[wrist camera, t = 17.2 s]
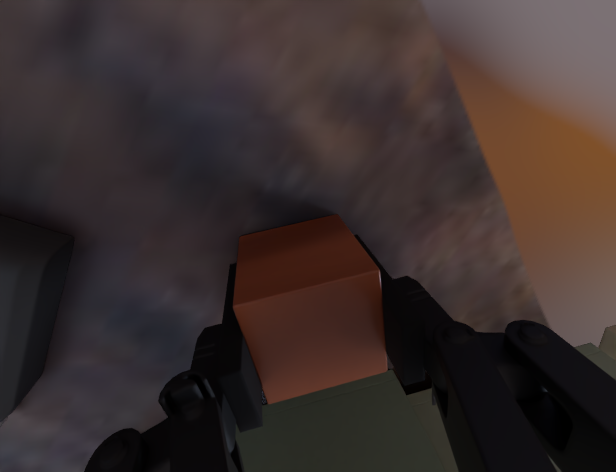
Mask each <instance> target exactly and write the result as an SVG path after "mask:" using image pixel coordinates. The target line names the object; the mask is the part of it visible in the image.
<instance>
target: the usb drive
mask: <svg viewBox="0 0 616 472" xmlns="http://www.w3.org/2000/svg"><path fill="white" fill-rule="evenodd" d="M73 244H74V237H71V236H68V235H65V234H61V233H58V232H55V231H51V230H48V229H45V228H42V227H38V226H35V225H32V224H28V223H25V222H22V221H19V220H15V219H12V218H9V217H5V216H2V215H0V427H1V426H2V424H3V423H4V422H5V421H6V419H7V418H8V416H9V415H10V414H11V413H12V412H13V411H14V410H15V408H16V407H17V406H18V405H19V403H20V402H21V401H22V400H23V398H24V397H25V396H26V394H27V393H28V392H29V391H30V389H31V388H32V387H33V385H34V384H35V383H36V381H37V380H38V379H39V378H40V376H41V374H42V371H43V367H44V363H45V359H46V355H47V351H48V347H49V343H50V339H51V334H52V330H53V326H54V322H55V318H56V314H57V310H58V306H59V302H60V298H61V294H62V289H63V285H64V281H65V277H66V273H67V269H68V265H69V261H70V257H71V253H72V248H73Z"/></svg>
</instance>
